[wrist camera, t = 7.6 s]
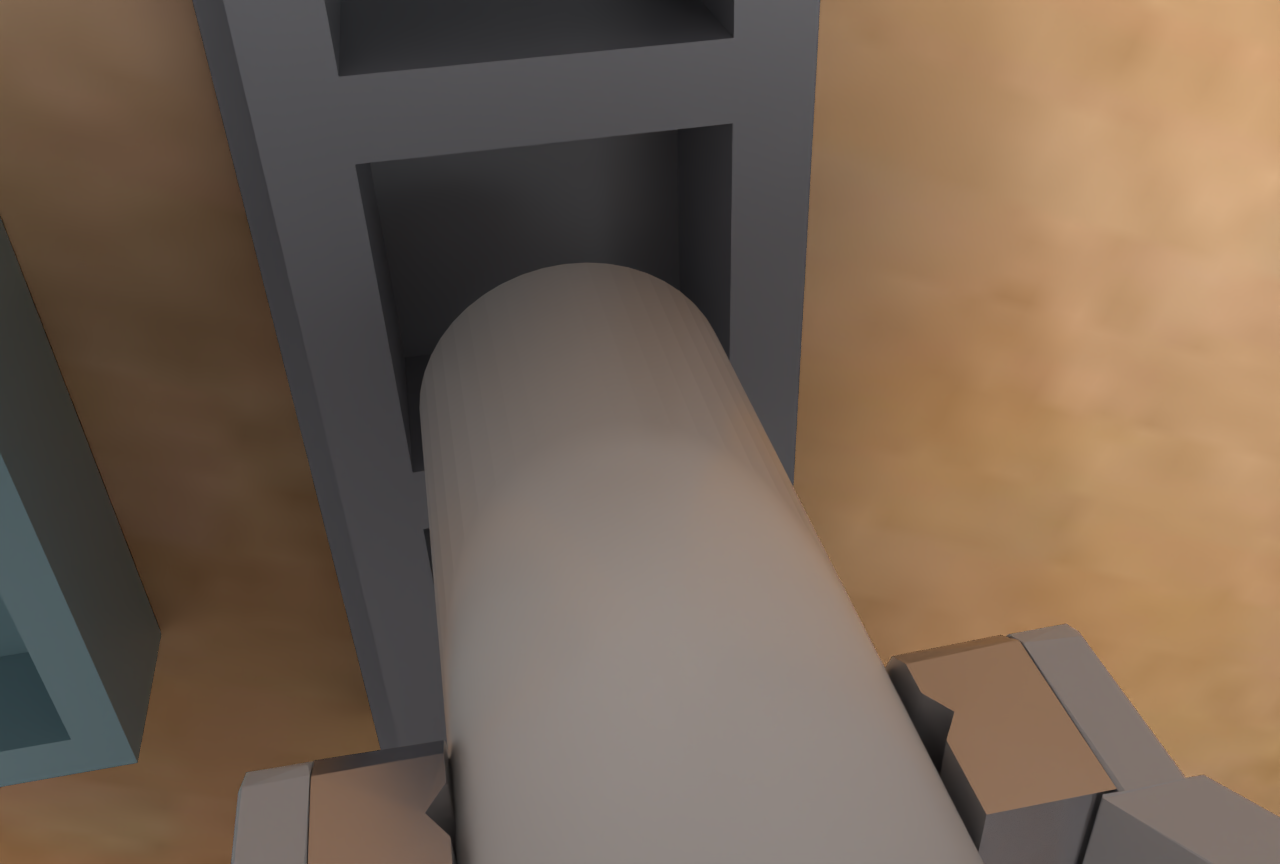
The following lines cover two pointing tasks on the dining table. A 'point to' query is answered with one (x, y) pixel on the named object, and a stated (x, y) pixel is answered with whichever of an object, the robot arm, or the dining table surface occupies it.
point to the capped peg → (646, 604)
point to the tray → (60, 574)
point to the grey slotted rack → (498, 225)
